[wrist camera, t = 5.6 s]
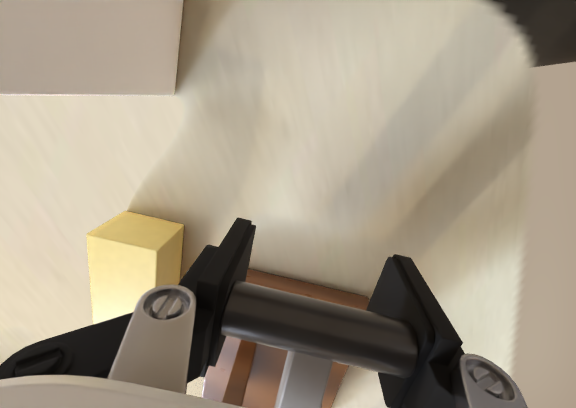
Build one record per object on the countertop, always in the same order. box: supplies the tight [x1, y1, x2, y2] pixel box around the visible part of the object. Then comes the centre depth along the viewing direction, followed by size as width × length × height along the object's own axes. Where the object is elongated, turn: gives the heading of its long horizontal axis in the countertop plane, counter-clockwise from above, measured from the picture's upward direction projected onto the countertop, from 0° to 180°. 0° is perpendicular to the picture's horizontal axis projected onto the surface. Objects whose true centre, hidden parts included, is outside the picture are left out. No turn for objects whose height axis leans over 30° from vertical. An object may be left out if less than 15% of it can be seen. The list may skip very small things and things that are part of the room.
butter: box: [87, 211, 184, 324], centre depth 16 cm, size 6×4×3 cm, turn 168°
